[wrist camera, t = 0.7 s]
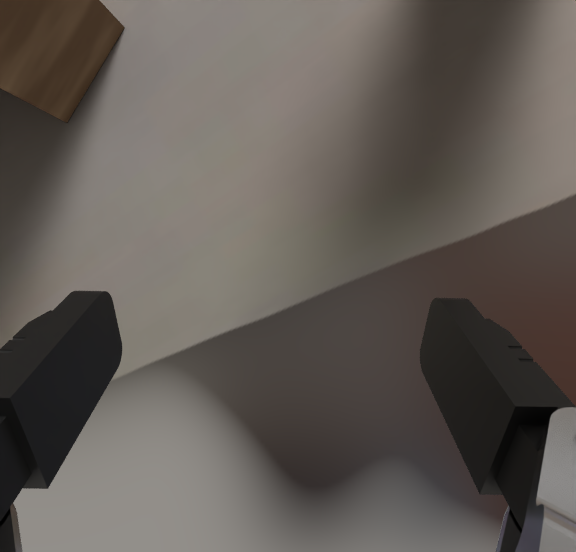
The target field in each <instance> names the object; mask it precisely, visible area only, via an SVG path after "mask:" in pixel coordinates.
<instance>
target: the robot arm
mask: <svg viewBox="0 0 576 552" xmlns="http://www.w3.org/2000/svg"><path fill="white" fill-rule="evenodd" d="M121 356H122V342H121V337H120V333H119V328H118V323H117V319H116V314H115V310H114V305H113V301H112V298H111V295H110V294H109V293H108V292H106V291H73V292H71V293H70V294H69V295H68V296H67V297H66V298H65V299H64V300H63V301H62V302H61V303H60V304H59V305H58V306H57V307H56V308H55V309H54V310H53V311H48V312H46V313H45V314H43V315H41V316H39V317H37V318H36V319H34V320H32V321H30V322H29V323H27V324H26V325H25V326H24V327H23V328H22V329H21V330H20V331H19V332H18V333H17V334H16V335H15V336H14V337H13V340H9V341H8V342H7V343H6V344H5V345H4V346H3V347H2V348H1V349H0V552H22V545H21V539H20V532H19V524H18V517H17V512H16V508H15V506H14V504H13V502H14V500H15V499H16V497H17V495H18V494H19V493H20V491H21V489H22V488H42V489H47V488H48V487H49V486H50V484H51V482H52V480H53V479H54V477H55V475H56V474H57V472H58V470H59V468H60V466H61V465H62V463H63V462H64V460H65V458H66V456H67V455H68V453H69V451H70V450H71V448H72V446H73V444H74V443H75V441H76V439H77V437H78V436H79V434H80V432H81V431H82V429H83V427H84V425H85V424H86V422H87V420H88V419H89V417H90V415H91V413H92V412H93V410H94V408H95V407H96V405H97V403H98V401H99V400H100V398H101V396H102V394H103V393H104V391H105V389H106V388H107V386H108V384H109V382H110V381H111V379H112V377H113V376H114V374H115V372H116V370H117V369H118V367H119V364H120V361H121ZM420 363H421V368H422V372H423V374H424V376H425V379H426V381H427V383H428V385H429V387H430V389H431V391H432V394H433V396H434V398H435V400H436V402H437V404H438V406H439V408H440V411H441V413H442V415H443V417H444V419H445V421H446V423H447V426H448V428H449V430H450V432H451V434H452V436H453V438H454V440H455V443H456V445H457V447H458V449H459V451H460V453H461V455H462V457H463V460H464V462H465V464H466V466H467V468H468V470H469V472H470V474H471V477H472V479H473V481H474V483H475V485H476V487H477V489H478V492H479V494H493V495H496V494H497V495H499V494H501V495H503V496H504V498H505V499H506V501H507V503H508V505H509V506H508V508H507V510H506V513H505V515H504V519H503V523H502V527H501V531H500V535H499V540H498V544H497V548H496V552H576V406H575V405H574V404H573V403H572V402H571V401H570V400H569V399H568V397H567V396H566V395H565V394H564V393H563V392H562V391H561V390H560V388H559V387H558V386H557V385H556V384H555V383H554V382H553V381H552V379H551V378H550V377H549V376H548V375H547V374H546V373H545V372H544V371H543V369H541V367H540V366H539V365H538V364H537V363H536V362H533V358H532V357H531V356H530V355H529V354H528V352H527V351H526V350H525V349H522V346H521V345H520V343H519V342H518V341H517V340H516V339H515V338H514V337H513V336H512V334H511V333H510V332H509V331H507V330H506V329H504V328H502V327H501V326H500V325H498V324H497V323H495V322H493V321H492V320H490V319H485V318H484V317H483V316H482V315H481V314H480V313H479V311H478V310H477V309H476V308H475V307H474V305H473V304H472V303H471V302H470V301H469V300H468V299H465V298H464V299H463V298H461V299H460V298H435V299H434V300H433V301H432V303H431V305H430V309H429V313H428V318H427V322H426V326H425V331H424V336H423V340H422V344H421V349H420Z"/></svg>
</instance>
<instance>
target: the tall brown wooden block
mask: <svg viewBox="0 0 576 552" xmlns="http://www.w3.org/2000/svg"><path fill="white" fill-rule="evenodd" d="M124 28H125V27H124V26H123V25H122V24H121V23H120V22H119V21H118V20H117V19H116V18H115V17H114V16H113V15H112V13H111V12H110V11H109V10H108V9H107V8H106V7H105V6H104V5H103V4H102V3H101V2H100V1H99V0H0V88H1V89H3V90H5V91H7V92H8V93H10V94H12V95H14V96H16V97H18V98H20V99H22V100H24V101H26V102H28V103H30V104H32V105H33V106H35V107H37V108H39V109H41V110H43V111H45V112H47V113H49V114H51V115H53V116H55V117H57V118H58V119H60V120H62V121H64V122H66V123H67V122H68V120H69V119H70V117H71V115H72V114H73V112H74V111H75V109H76V107H77V106H78V104H79V102H80V101H81V99H82V97H83V96H84V94H85V92H86V91H87V89H88V87H89V86H90V84H91V82H92V81H93V79H94V77H95V76H96V74H97V72H98V71H99V69H100V67H101V66H102V64H103V62H104V61H105V59H106V58H107V56H108V54H109V53H110V51H111V49H112V48H113V46H114V44H115V43H116V41H117V39H118V38H119V36H120V34H121V33H122V31H123V29H124Z"/></svg>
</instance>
